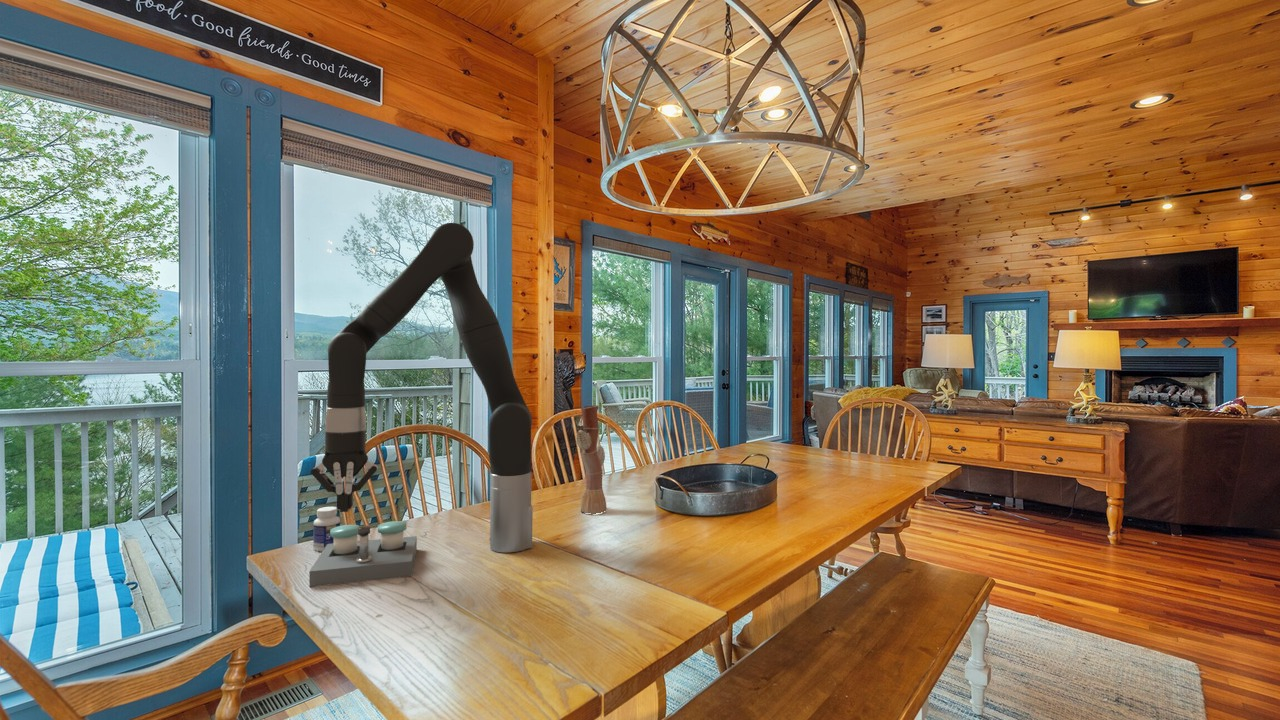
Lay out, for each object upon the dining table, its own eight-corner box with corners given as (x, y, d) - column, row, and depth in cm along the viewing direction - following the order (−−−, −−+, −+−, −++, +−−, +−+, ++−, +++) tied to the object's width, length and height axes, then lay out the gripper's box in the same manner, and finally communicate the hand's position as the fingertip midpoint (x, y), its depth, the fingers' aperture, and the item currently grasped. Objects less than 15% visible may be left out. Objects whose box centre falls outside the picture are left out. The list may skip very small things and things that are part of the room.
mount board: (416, 549, 129) (416, 536, 129) (411, 576, 113) (411, 561, 113) (327, 557, 123) (327, 543, 123) (309, 587, 108) (309, 571, 108)
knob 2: (407, 540, 125) (407, 520, 125) (405, 549, 120) (405, 527, 120) (379, 542, 123) (379, 522, 123) (376, 551, 118) (376, 530, 118)
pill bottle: (328, 552, 126) (328, 512, 126) (307, 550, 127) (307, 511, 127) (345, 544, 131) (345, 506, 131) (325, 542, 132) (325, 505, 132)
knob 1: (362, 544, 122) (362, 523, 122) (358, 553, 117) (358, 531, 117) (333, 547, 120) (333, 525, 120) (327, 556, 115) (327, 534, 115)
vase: (599, 506, 166) (599, 403, 165) (613, 511, 160) (614, 405, 159) (567, 512, 159) (568, 405, 159) (581, 518, 153) (582, 407, 153)
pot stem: (372, 557, 115) (372, 524, 115) (370, 562, 112) (370, 528, 112) (357, 559, 114) (357, 525, 114) (355, 564, 112) (355, 530, 112)
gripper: (382, 425, 124) (381, 504, 124) (314, 426, 120) (313, 508, 120) (378, 430, 117) (376, 514, 117) (305, 431, 113) (304, 518, 113)
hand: (344, 510), depth 119 cm, fingers closed
